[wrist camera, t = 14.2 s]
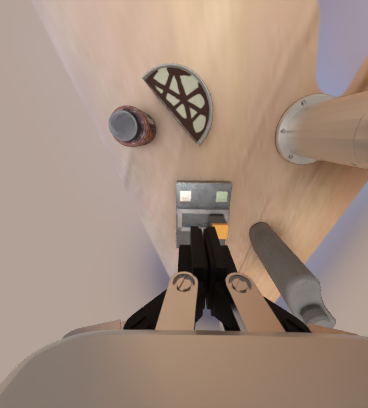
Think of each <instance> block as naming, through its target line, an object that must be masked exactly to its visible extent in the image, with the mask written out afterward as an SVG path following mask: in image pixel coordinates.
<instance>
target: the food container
mask: <svg viewBox="0 0 368 408" xmlns="http://www.w3.org/2000/svg"><path fill="white" fill-rule="evenodd" d="M142 78H143V80H144V81H145V82H146V83H147V85H148V86H149V87H150V88H151V90H152V91H153V92H154V94H155V95H156V96H157V97H158V99H159V100H160V101H161V102H162V103H163V105H164V106H165V107H166V108H167V109H168V111H169V112H170V113H171V114H172V115H173V117H174V118H175V119H176V120H177V121H178V123H179V124H180V125H181V126H182V127H183V128H184V130H185V131H186V132H187V133H188V134H189V136H190V137H191V138H192V139H193V140H194V141H195V142H196V143H197V144H198V145H199V146H200V144H201V143H202V142H203V141H204V139H205V138H206V136H207V135H208V132H209V130H210V127H211V124H212V119H213V104H212V99H211V95H210V93H209V90H208V88H207V86H206V85H205V83H204V81H203V80H202V79H201V78H200V77H199V75H197V74H196V73H195V72H194V71H193V70H191V69H189V68H188V67H185V66H183V65H180V64H173V63H172V64H163V65H159V66H157V67H154V68H152V69H151V70H150V71H148V72H147V73H146V74H145V75H144V76H143V77H142Z"/></svg>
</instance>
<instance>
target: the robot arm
mask: <svg viewBox="0 0 368 408" xmlns="http://www.w3.org/2000/svg"><path fill="white" fill-rule="evenodd" d="M301 103H302V105H301ZM280 131H281V132H280ZM275 140H276V146H277V149H278V151H279V153H280V155H281V156H282V157H283V158H284V159H285V160H287V161H289V162H291V163H295V164H310V163H313V162H316V161H318V160H322V161H327V162H332V163H337V164H343V165H348V166H353V167H358V168H364V169H368V91H364V92H360V93H356V94H352V95H348V96H344V97H339V98H335V97H333V96H331V95H328V94H322V93H320V94H313V95H309V96H306V97H304V98H301V99H300V100H298V101H296V102H295V103H294V104H293V105H291V106H290V107H289V108H288V109H287V111H286V112H285V113H284V114H283V116H282V118H281V119H280V121H279V124H278V126H277V130H276V138H275ZM205 297H206V305H207V309H210V310H211V316H215V317H216V318H217V319H218V320H219V321H220V328H221V331H207V330H205V331H204V330H195V325H196V322H197V321H198V320H199V319H200V318H201V317H202V313H203V309H204V308H205ZM0 408H368V337H365V336H359V335H357V334H353V333H349V332H344V331H341V330H337V329H332V328H328V327H324V326H320V325H315V324H311V323H309V324H308V325H305V324H304V323H303V322H302V321H301V320H300V319H298V318H297V317H295V316H293V315H292V314H290V313H289V312H287V311H286V310H284V309H282V308H281V307H279V306H278V305H276V304H274V303H273V302H271V301H270V300H268V299H267V298H265V297H263V296H262V294H261V293H260V291H259V290H258V288H257V286H256V285H255V283H254V282H253V281H252V279H251V278H249V277H248V276H247V275H245V274H242V273H238V272H237V270H236V267H235V264H234V262H233V259H232V256H231V254H230V251H229V248H228V246H227V245H220V241H219V238H218V235H217V232H216V229H215V227H214V226H207V227H206V228H204V229H203V235H202V229H201V228H199V227H198V226H191V227H190V245H179V260H178V273H176V274H174V275H173V276H172V277H171V279H170V281H169V285H168V288H167V289H166V290H165V291H164V292H162V293H161V294H160V295H158V296H157V297H156V298H154V299H153V300H152V301H150V302H149V303H148V304H146V305H145V306H144V307H142V308H141V309H140V310H138V311H137V312H136V313H134V314H133V315H132V316H131V317H130V318H129V319H128V320H127V321H123V322H121V320H116V321H111V322H107V323H102V324H97V325H93V326H87V327H83V328H79V329H75V330H73V331H71V332H69V333H68V334H66V335H65V336H64V337H63V338H62V339H61V340H58V341H56V342H53V343H51V344H49V345H46V346H45V347H43V348H41V349H39V350H37V351H36V352H34V353H32V354H31V355H30V356H28V357H27V358H26V359H24V360H23V361H22V362H21V363H20V364H19V365H18V366H17V367H16V368H15V369H14V370H13V371H12V372H11V373H10V374H9V375H8V376H7V377H6V378H5V379H4V380H3V382H2V383H1V384H0Z"/></svg>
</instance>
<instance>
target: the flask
mask: <svg viewBox="0 0 368 408" xmlns="http://www.w3.org/2000/svg"><path fill="white" fill-rule="evenodd" d="M250 240H251V243H252V245H253V248H254V250H255V252H256V253H257V255H258V257H259V258H260V260H261V262H262V263H263V265H264V267H265V268H266V270H267V272H268V273H269V275H270V277H271V278H272V280H273V282H274V284H275V285H276V287H277V289H278V290H279V292H280V294H281V295H282V297H283V299H284V300H285V302H286V304H287V305H288V307H289V309H290V310H291V312H292V314H293V315H294V316H295V317H297V318H298V319H300V320H301V321H302V322H303V323H304V324H305V325H308V324H309V323H311V324H315V325H320V326H324V327H328V328H333V327H334V326H335V324H336V320H335V318H334V317H333V316H332V315H331V314H330V312H329V311H328V310H327V309H326V307H325V305H324V303H323V300H322V297H321V290H320V282H319V281H318V279H317V278H316V277H315V276H314V275H313V274H312V273H311V272H310V271H309V269H308V268H307V267H306V266H305V265H304V264H303V263H302V262H301V261H300V260H299V258H298V257H297V256H296V255H295V254H294V253H293V252H292V251H291V250H290V249H289V248H288V246H287V245H286V244H285V243H284V242H283V241H282V240H281V239H280V238H279V237H278V235H277V234H276V233H275V232H274V231H273V230H272V229H271V228H270V227H269V226H268V224H266V223H257V224H255V225H254V226H252V228H251V229H250Z"/></svg>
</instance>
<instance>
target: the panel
mask: <svg viewBox="0 0 368 408" xmlns="http://www.w3.org/2000/svg"><path fill="white" fill-rule="evenodd" d="M176 186H177V248H179V245H190V227H191V226H198V227H199V228H201V229H202V235H203V229H204V228H206V227H207V226H209V225H208V224H209V214H223V216H224V218H225V220H226V222H227V223H228V215H229V211H230V210H229V206H230V198H231V190H232V183H231V182H213V181H177V183H176ZM219 241H220V245H225V239H219Z"/></svg>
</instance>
